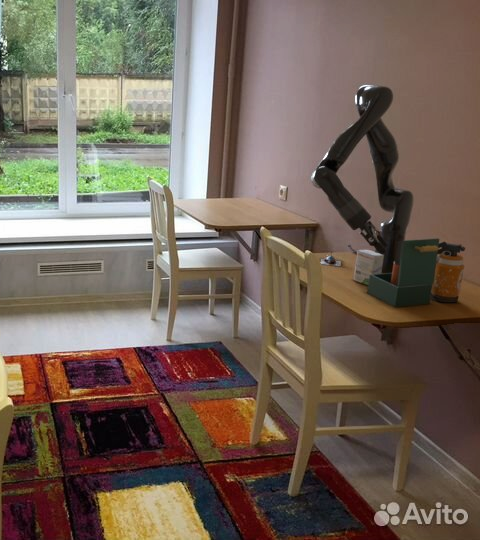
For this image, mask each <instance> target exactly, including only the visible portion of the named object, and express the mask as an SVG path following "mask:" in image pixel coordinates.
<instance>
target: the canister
mask: <svg viewBox="0 0 480 540" xmlns="http://www.w3.org/2000/svg"><path fill="white" fill-rule="evenodd" d="M464 251H466V247H465V246H463V245H462V244H459V243H458V244H455V243H448V242H446V241H442V242H439V246H438V254H437V261H436V269H435V276H434V284H432V290H431V296H430V299H432V300H435V301H437V302H441V303H454V302H458V301H459V296H460V291H461V285H462V281H463V276H464V270H465V265H464V260H465V258H464V257H463V255H461V252H464Z"/></svg>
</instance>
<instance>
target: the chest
mask: <svg viewBox="0 0 480 540" xmlns="http://www.w3.org/2000/svg"><path fill="white" fill-rule="evenodd" d="M391 277H392V273H383V274H371V275H370V277H369V284H368V285H367V292H366V293H368V294H369V295H371V296H373V297H375V298H377V299H379V300H380V301H382V302H384V303H386V304H388V305H390V306H392V307H394V308H399V307H408V306H418V305H430V300H431V297H430V296H431V290H432V284H424V285H413V286H403V287H397V286H395V285H393V284H391Z"/></svg>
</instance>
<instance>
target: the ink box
mask: <svg viewBox="0 0 480 540" xmlns="http://www.w3.org/2000/svg"><path fill="white" fill-rule="evenodd" d="M356 252H357V253H356V258H355V267H354V274H353V281H355V282H358V283H361V284H363V285H365V286H368V284H369V277H370V275H371V274H381V272H382V264H383V257H384V255H382V254H379V253H376V252H375V251H373V250H370V249H358V250H356Z"/></svg>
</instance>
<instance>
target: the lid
mask: <svg viewBox="0 0 480 540" xmlns="http://www.w3.org/2000/svg"><path fill="white" fill-rule="evenodd" d="M439 243H440V238H438V237H436V238H422V239H407V240H406V239H405V241H403V244H402V253H401V261H400V270H399V278H398V287H402V286H413V285H424V284H434V276H435V269H436V261H437V257H438V255H439V254H438V250H439V248H438V246H439ZM437 254H438V255H437Z"/></svg>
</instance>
